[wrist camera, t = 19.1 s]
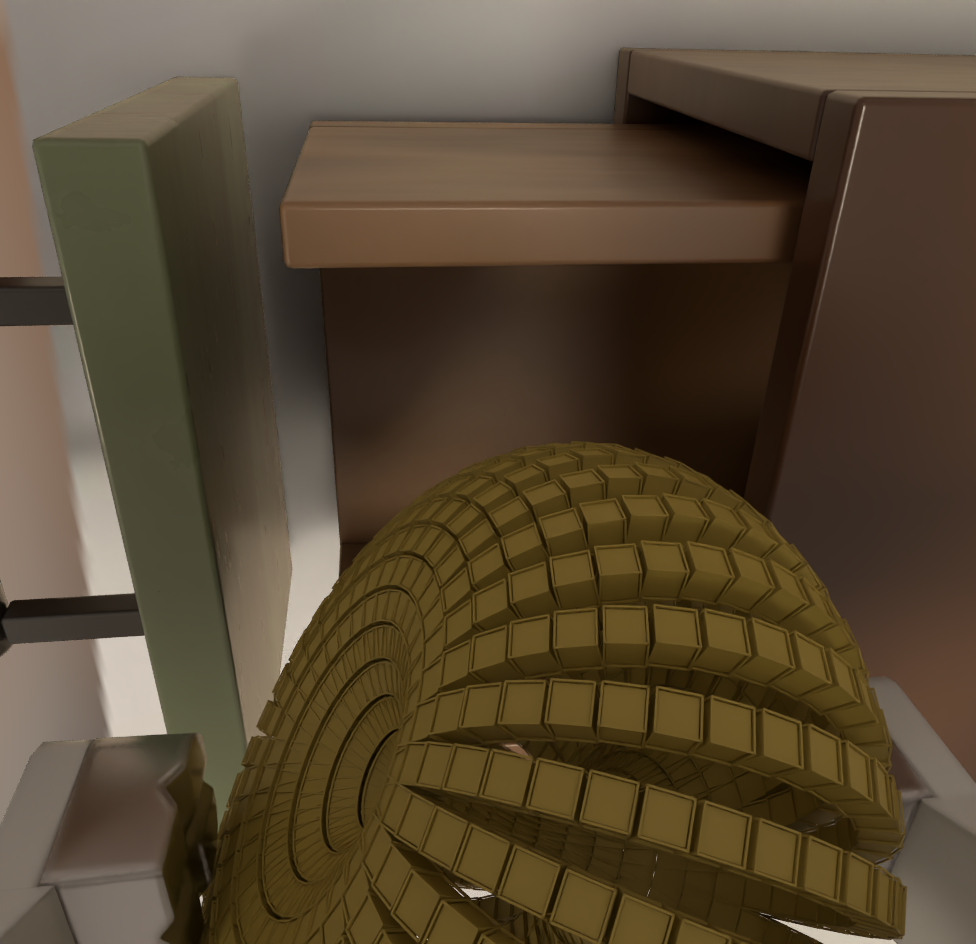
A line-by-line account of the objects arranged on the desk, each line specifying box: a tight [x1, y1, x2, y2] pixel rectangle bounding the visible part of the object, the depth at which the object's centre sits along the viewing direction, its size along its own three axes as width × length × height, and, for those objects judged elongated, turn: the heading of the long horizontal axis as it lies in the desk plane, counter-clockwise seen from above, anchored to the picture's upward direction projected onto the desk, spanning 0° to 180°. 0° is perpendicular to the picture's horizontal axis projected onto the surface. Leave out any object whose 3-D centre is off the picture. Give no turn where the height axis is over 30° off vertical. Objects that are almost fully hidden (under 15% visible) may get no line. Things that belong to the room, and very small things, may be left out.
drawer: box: [0, 77, 813, 831], centre depth 16 cm, size 18×11×8 cm, turn 88°
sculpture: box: [201, 441, 907, 944], centre depth 8 cm, size 8×4×8 cm, turn 144°
